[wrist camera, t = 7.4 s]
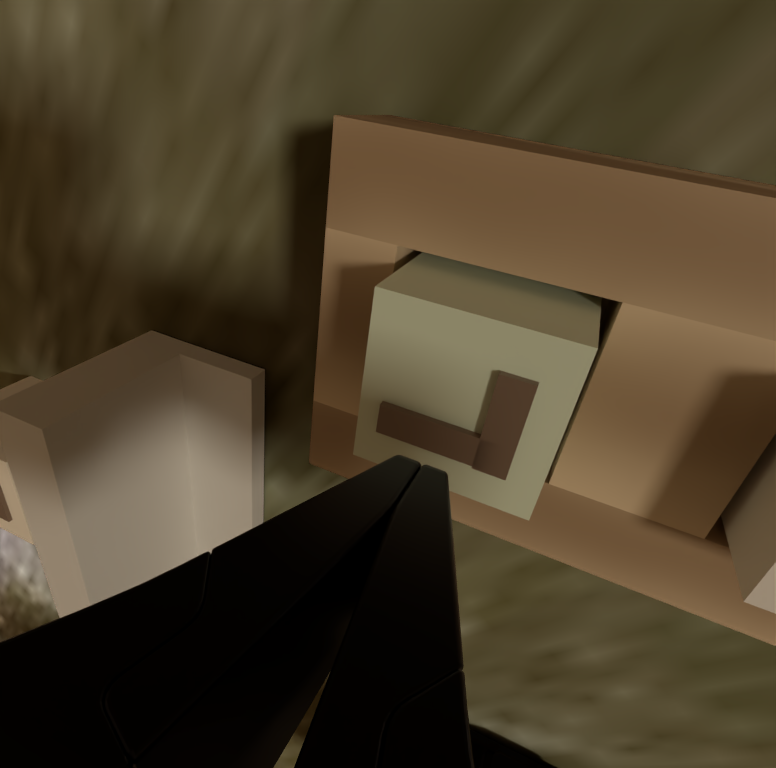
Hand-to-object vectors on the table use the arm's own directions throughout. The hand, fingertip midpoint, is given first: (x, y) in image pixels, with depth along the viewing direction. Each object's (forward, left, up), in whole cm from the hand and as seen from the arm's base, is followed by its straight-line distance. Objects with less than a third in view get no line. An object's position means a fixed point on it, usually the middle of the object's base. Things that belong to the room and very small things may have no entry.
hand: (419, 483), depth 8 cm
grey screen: (-11, +10, -7) cm, 16 cm away
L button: (0, 0, -5) cm, 5 cm away
